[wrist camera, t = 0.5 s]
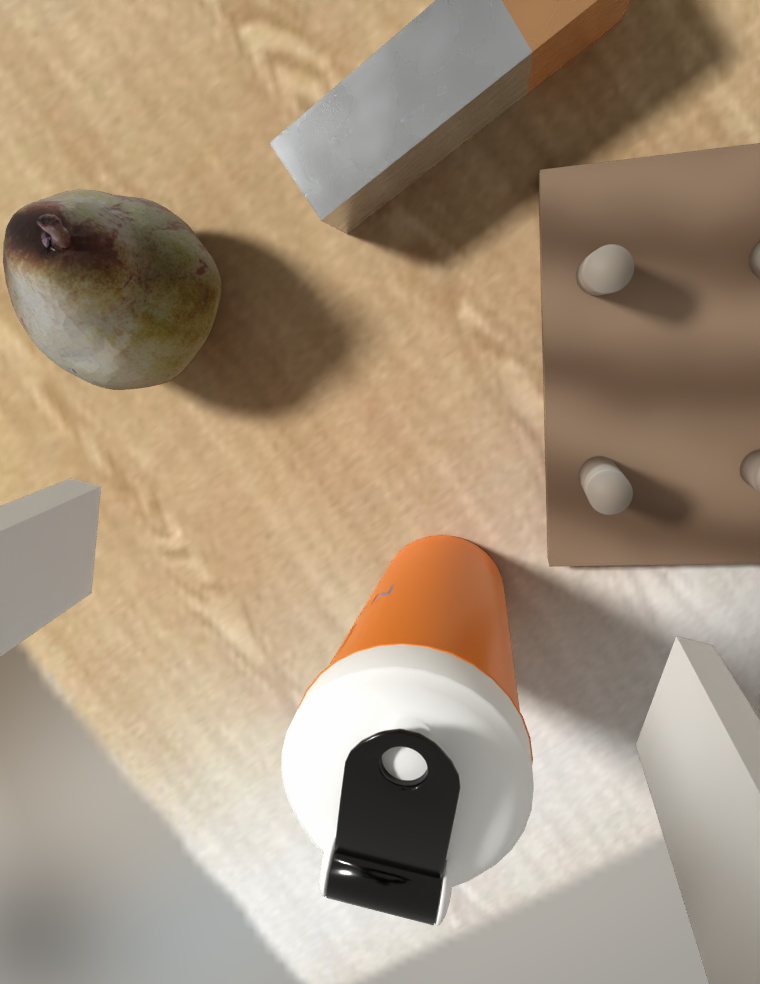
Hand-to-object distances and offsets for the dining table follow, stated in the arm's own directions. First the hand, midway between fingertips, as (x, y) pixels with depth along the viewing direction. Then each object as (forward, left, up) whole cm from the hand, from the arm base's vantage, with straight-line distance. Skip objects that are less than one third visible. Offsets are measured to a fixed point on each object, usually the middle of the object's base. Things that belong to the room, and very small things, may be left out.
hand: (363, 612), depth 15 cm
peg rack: (-3, +12, -24) cm, 27 cm away
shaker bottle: (+9, -1, -24) cm, 26 cm away
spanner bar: (-17, +1, -24) cm, 29 cm away
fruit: (-9, -16, -24) cm, 30 cm away
